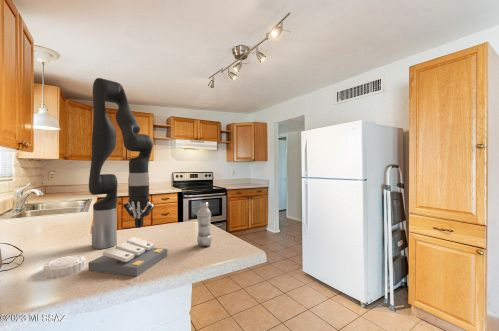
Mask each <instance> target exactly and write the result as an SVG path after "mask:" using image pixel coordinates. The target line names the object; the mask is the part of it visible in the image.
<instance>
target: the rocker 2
mask: <svg viewBox="0 0 499 331" xmlns="http://www.w3.org/2000/svg"><path fill="white" fill-rule="evenodd" d="M126 243H128V244H131V245H135V246H138V247H142V248H145V250H150V249H151V248H155V245H156V244H155V243H152V242H149V241H147V240H144V239H142V238H138V237H136V236H133V237H130V238H129V239H127V240H126Z"/></svg>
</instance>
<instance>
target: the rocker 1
mask: <svg viewBox="0 0 499 331" xmlns="http://www.w3.org/2000/svg"><path fill="white" fill-rule="evenodd" d="M103 255H105V256H108V257H111V258H114V259H118V260H121V261H124V262H127V261H129V260H131V259H132V258H134V255H135V254H132V253H128V252H125V251H121V250H118V249H115V247H109V248H106V250H103V251H102V256H103Z"/></svg>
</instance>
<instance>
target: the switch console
mask: <svg viewBox="0 0 499 331" xmlns="http://www.w3.org/2000/svg"><path fill="white" fill-rule="evenodd" d="M166 257H168V248H161V247H153V248H151V249H150V250H145V252H143V253H141V254H140V255H134V258H132V259H131V260H129V261H127V262H124V261H121V260H118V259H114V258H111V257H108V256H105V255H102V256H100V257H96V258H95V259H93V260H91V261H88V262H87V263H88V272H94V273H95V272H96V273H103V274H112V275H120V276H129V277H139V276H140V275H142V274H143V273H145V272H146V271H147V270H149V269H150V268H152V267H153V266H155V265H156V264H157V263H159V262H160V261H162V260H164V259H165V258H166Z"/></svg>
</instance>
